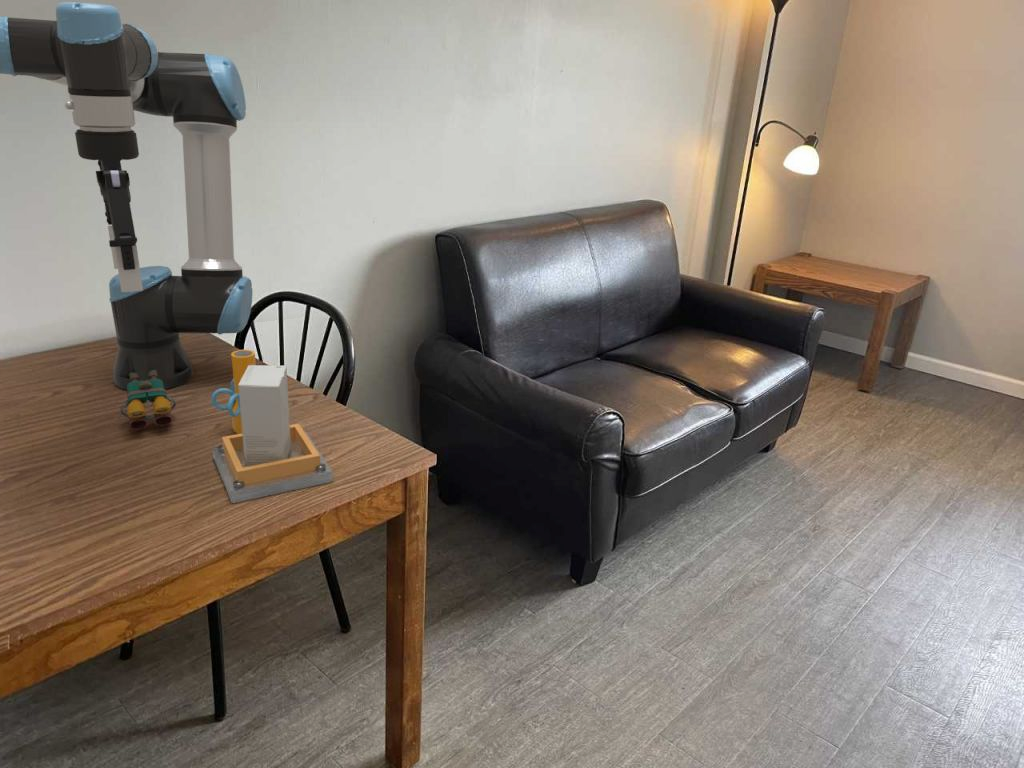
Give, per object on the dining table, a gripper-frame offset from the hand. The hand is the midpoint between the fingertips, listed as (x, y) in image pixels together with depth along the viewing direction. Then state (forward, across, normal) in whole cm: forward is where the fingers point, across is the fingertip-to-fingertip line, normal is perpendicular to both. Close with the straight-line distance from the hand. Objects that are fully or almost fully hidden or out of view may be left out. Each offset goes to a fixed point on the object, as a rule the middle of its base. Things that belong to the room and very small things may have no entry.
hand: (128, 279), depth 112 cm
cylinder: (+33, -10, +17) cm, 38 cm away
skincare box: (+31, +7, +17) cm, 36 cm away
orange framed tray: (+33, +7, +17) cm, 38 cm away
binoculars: (+33, -18, +1) cm, 38 cm away
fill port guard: (+31, +7, +17) cm, 36 cm away
